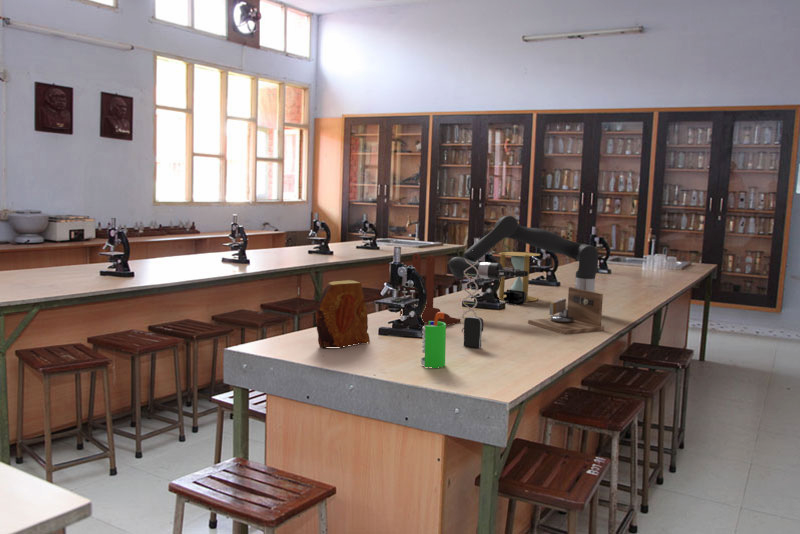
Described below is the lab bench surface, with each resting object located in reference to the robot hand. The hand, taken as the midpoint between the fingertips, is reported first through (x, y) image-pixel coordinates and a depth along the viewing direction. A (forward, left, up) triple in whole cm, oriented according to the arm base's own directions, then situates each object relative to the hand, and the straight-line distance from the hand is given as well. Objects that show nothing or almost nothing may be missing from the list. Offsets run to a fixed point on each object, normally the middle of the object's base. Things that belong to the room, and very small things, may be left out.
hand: (525, 274), depth 311 cm
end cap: (-30, -46, -22) cm, 59 cm away
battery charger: (+47, +31, -22) cm, 60 cm away
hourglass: (-40, -58, -22) cm, 74 cm away
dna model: (+34, +8, -22) cm, 41 cm away
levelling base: (-13, +13, -22) cm, 29 cm away
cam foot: (-11, +11, -20) cm, 25 cm away
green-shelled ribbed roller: (+75, +49, -22) cm, 92 cm away
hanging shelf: (+36, -21, -22) cm, 47 cm away
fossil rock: (+92, +11, -22) cm, 95 cm away
